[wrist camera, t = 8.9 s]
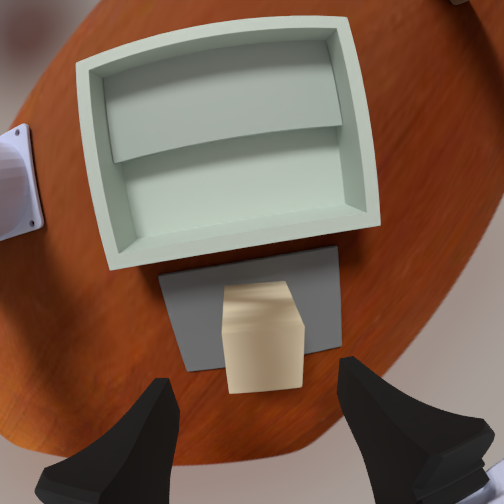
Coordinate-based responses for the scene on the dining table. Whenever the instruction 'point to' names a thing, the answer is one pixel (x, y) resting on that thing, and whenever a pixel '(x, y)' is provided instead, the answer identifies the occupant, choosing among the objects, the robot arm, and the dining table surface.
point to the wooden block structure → (457, 1)
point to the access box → (227, 138)
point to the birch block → (262, 338)
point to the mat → (245, 272)
